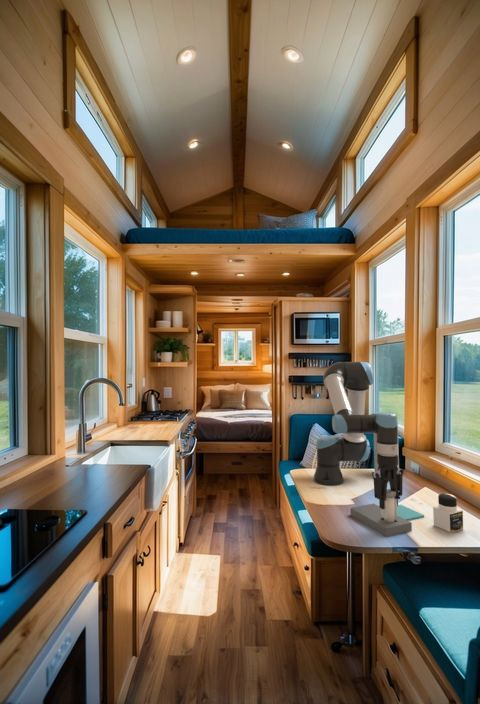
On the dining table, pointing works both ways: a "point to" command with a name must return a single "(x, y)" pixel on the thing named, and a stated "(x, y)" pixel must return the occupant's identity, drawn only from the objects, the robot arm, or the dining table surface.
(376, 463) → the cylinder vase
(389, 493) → the plug
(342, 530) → the dining table surface
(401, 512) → the mat
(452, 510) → the medicine bottle
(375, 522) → the grey socket plate
